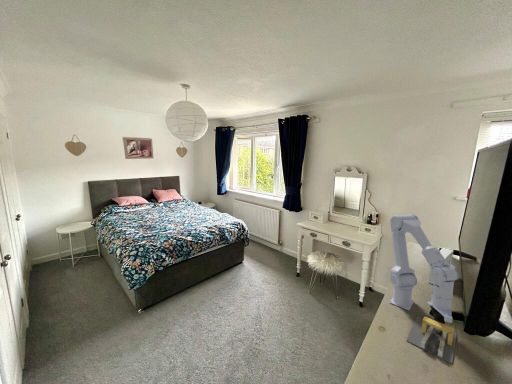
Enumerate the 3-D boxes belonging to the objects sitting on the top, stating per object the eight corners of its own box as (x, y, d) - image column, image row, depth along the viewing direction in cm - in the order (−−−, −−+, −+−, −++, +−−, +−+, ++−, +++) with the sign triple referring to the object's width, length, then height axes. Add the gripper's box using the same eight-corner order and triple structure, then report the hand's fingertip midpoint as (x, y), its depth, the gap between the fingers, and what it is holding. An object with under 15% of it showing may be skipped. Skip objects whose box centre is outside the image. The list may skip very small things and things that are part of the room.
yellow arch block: (422, 328, 86) (424, 316, 86) (452, 341, 80) (454, 328, 79) (421, 332, 84) (422, 320, 84) (451, 346, 78) (453, 332, 77)
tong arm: (429, 330, 85) (430, 325, 85) (436, 333, 83) (437, 328, 83) (420, 346, 78) (420, 341, 78) (427, 350, 76) (428, 345, 76)
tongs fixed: (436, 327, 87) (436, 322, 87) (447, 332, 84) (448, 326, 84) (429, 351, 76) (430, 345, 76) (442, 358, 74) (442, 351, 73)
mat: (416, 316, 93) (416, 316, 93) (456, 333, 84) (456, 333, 84) (406, 341, 81) (406, 340, 81) (451, 364, 72) (452, 363, 72)
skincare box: (440, 287, 114) (443, 260, 111) (428, 283, 118) (430, 256, 116) (450, 274, 126) (453, 249, 124) (439, 270, 130) (441, 246, 128)
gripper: (423, 282, 90) (420, 311, 92) (436, 304, 77) (432, 336, 79) (444, 286, 87) (440, 315, 89) (461, 308, 74) (457, 342, 76)
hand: (438, 325), depth 84 cm, fingers closed
